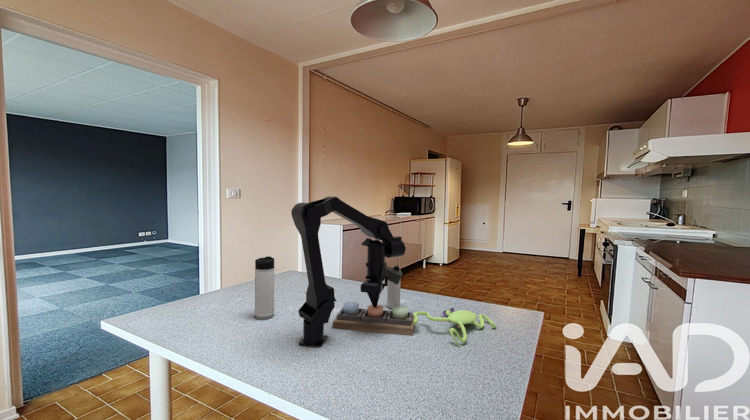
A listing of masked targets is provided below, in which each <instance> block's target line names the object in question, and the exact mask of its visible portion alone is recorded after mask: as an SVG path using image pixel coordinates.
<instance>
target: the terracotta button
mask: <svg viewBox="0 0 750 420" xmlns="http://www.w3.org/2000/svg"><path fill="white" fill-rule="evenodd" d="M367 309H368V316H370V317H381V316H383V310H384V306H383V305H381V304H377V307H373V305H372V304H369V305H368V306H367Z"/></svg>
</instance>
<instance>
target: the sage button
mask: <svg viewBox="0 0 750 420" xmlns="http://www.w3.org/2000/svg"><path fill="white" fill-rule="evenodd" d="M391 311H392V316H393V317H394V318H399V319H403V318H407V317H408V312H409V308H408V306H405V305H401V304H400V305H397V306H393V307H392V309H391Z"/></svg>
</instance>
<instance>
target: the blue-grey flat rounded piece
mask: <svg viewBox="0 0 750 420" xmlns="http://www.w3.org/2000/svg"><path fill="white" fill-rule="evenodd" d="M343 307H344V313H345V314H349V315H353V314H357V313H359V308H360V303H358V302H356V301H348V302H344V303H343Z"/></svg>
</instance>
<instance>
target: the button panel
mask: <svg viewBox="0 0 750 420" xmlns="http://www.w3.org/2000/svg"><path fill="white" fill-rule="evenodd" d="M413 321H414V317H413V312H412V311H411V312H409V311H408V317H407V318H403V319H399V318H394V317H393V316H392V310H384V309H383V316H381V317H370V316H368V308H360V307H359V313H357V314H353V315H349V314H345V313H344V306H343V307H342V308H341V309H340V310H339V311H338V313H337V314H336V317H335V318H334V320H333V321H332V329H336V330H344V331H345V330H347V331H359V332H368V333H382V334H391V335H403V336H413V335H414V328H415V325H414V324H413Z"/></svg>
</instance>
